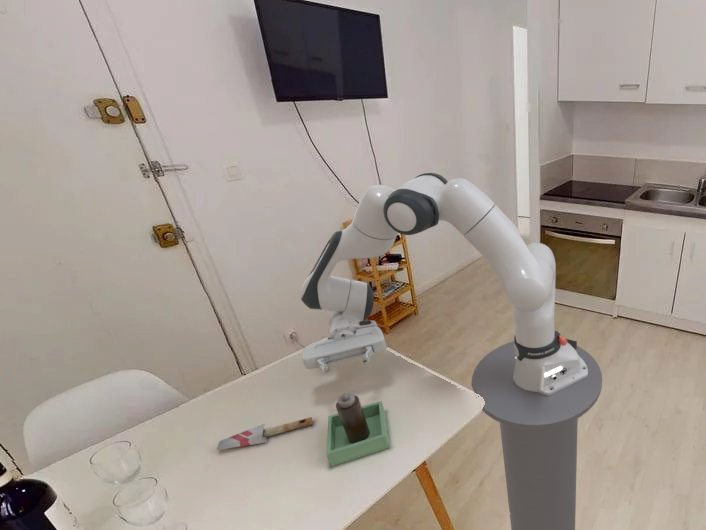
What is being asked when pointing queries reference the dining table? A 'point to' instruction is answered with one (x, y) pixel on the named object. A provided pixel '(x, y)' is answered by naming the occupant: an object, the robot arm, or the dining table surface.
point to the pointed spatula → (260, 434)
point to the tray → (377, 441)
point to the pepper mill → (352, 418)
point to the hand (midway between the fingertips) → (346, 365)
